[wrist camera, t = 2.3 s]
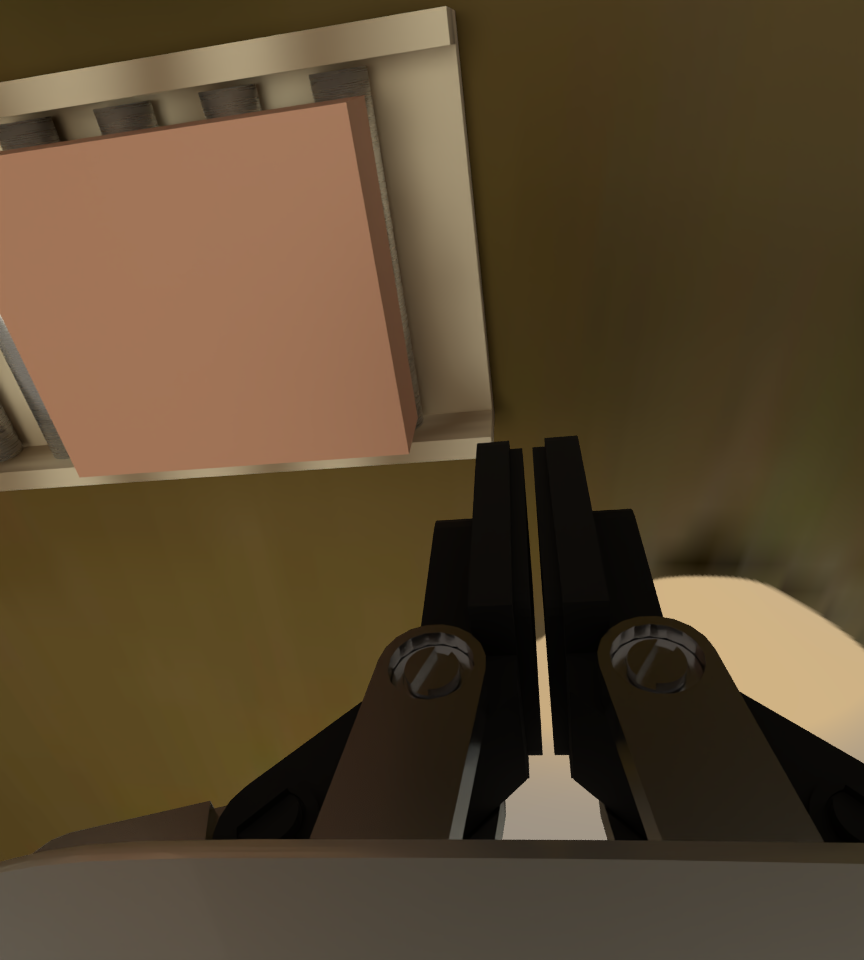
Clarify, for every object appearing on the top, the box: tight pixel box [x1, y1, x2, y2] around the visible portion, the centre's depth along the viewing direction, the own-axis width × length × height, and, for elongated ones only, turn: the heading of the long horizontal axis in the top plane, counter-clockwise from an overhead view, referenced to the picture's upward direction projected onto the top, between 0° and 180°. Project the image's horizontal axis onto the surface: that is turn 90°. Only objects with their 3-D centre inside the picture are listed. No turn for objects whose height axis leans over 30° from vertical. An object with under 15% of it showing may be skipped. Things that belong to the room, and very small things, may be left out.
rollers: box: [0, 65, 424, 462], centre depth 29 cm, size 26×14×2 cm, turn 98°
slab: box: [0, 95, 418, 478], centre depth 25 cm, size 14×12×3 cm
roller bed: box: [0, 6, 495, 491], centre depth 29 cm, size 32×16×4 cm, turn 98°
